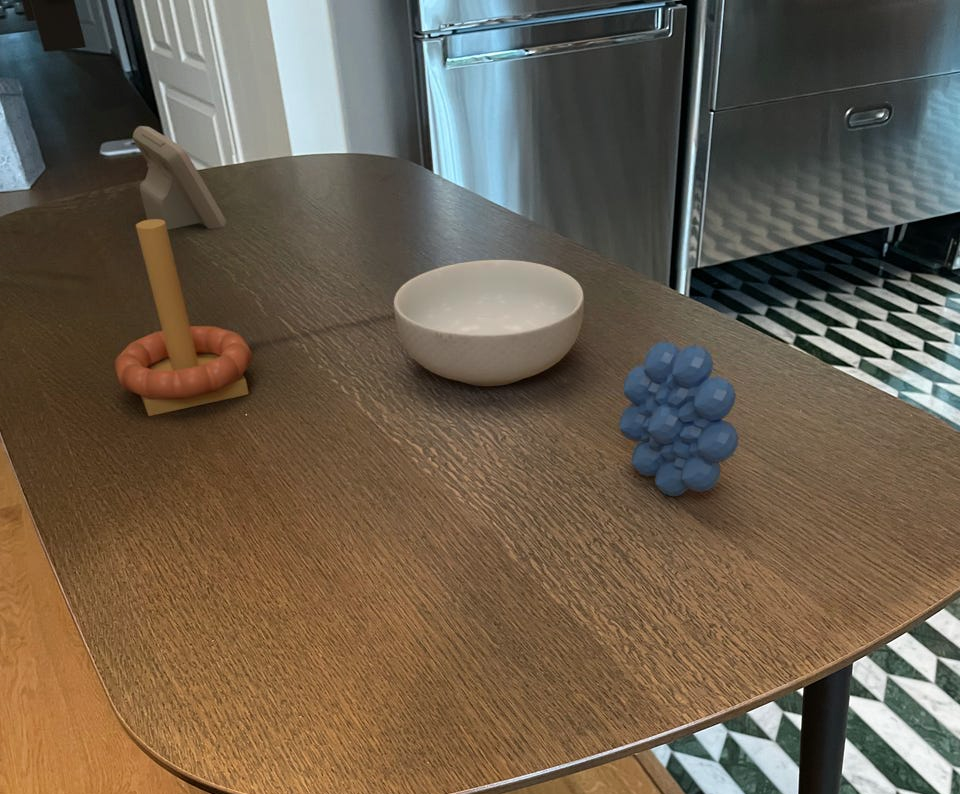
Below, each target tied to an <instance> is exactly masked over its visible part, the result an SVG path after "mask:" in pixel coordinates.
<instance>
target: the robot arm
mask: <svg viewBox="0 0 960 794" xmlns="http://www.w3.org/2000/svg"><path fill="white" fill-rule="evenodd" d="M20 2H21V5H22V8H23V11H24V16H25V18H26V21H27V22H34V21H35V24H36V28H37V31H38V34H39V35H38V36H39V39H40V42H41V46H42V49H43V52H44V53H46V52H47V53H49V52H55V51H56V52H57V51H66V50H75V49H84V48H87V45H86V42H85V41H86V40H85V38H84V33H83V29H82V26H81V21H80V18H79V14H78V10H77V6H76V1H75V0H20Z"/></svg>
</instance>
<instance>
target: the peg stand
mask: <svg viewBox="0 0 960 794" xmlns="http://www.w3.org/2000/svg"><path fill="white" fill-rule="evenodd" d="M135 228H136V229H135V230H136V233H137V237H138V240H139V244H140V249H141V253H142V256H143V261H144V265H145V269H146V272H147V276H148V280H149V285H150V288H151V291H152V296H153V300H154V304H155V307H156V311H157V316H158V319H159V323H160V327H161V331H163V335H164V339H165V343H166V347H167V351H168V355H169V357H167V358H164V359H162V360H160V361H158V362H156V363H154V364H152V365H149V366H148V367H147V368H148V369H151V370H181V369H186V368H191V367H195V366H200V365H204V364H206V363H208V362H210V361H212V360H214V359H216V358H218V357H220V355H217V354H214V353H196V351H195V346H194V342H193V338H192V334H191V329H190V326H191V325H190V321H189V318H188V312H187V309H186V304H185V300H184V297H183V291H182V287H181V283H180V279H179V275H178V270H177V265H176V262H175V257H174V254H173V250H172V246H171V245H172V244H171V241H170V236H169V232H168V230H167V228H166V224H165V221H164V220H160V219H150V220H147V219H145V220H142V221H139V222H138V223H136V224H135ZM247 395H250V393H249V388H248V383H247V379H246V377H245V376H244V373H243V374H242V376H241V377H240V378H239V379H238V380H236V381H234V382H232V383H230V384H229V385H227V386H225V387H223V388H221V389H219V390H217V391H215V392H212V393H207V394H203V395H198V396H194V397H189V398H184V399H151V398H147V397H144V396H141V395H140V398H141V400H142V402H143V403H142V404H143V405H144V408H145V412H146V413H147V415H148V417H152V416H157V415H160V414H161V415H162V414H165V413H170V412H174V411H180V410H184V409H189V408H193V407H198V406H203V405H206V404H212V403H215V402H216V403H217V402H220V401H221V402H222V401H224V400H229V399H235V398H238V397H239V398H240V397H243V396H247Z"/></svg>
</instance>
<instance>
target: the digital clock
mask: <svg viewBox="0 0 960 794" xmlns="http://www.w3.org/2000/svg"><path fill="white" fill-rule="evenodd" d="M132 140H133V141H134V144H135V145H136V146H137V148H138V150H139V151H140V153H141V155H142V156H143V158H144V160H145V161H146V167H147V168H148V169H147V173H146V177H145V179H144V180H143V181H142V182H141V183H140V185H139V192H140V197H141V201H142V205H143V207H144V208H143V209H144V213H145V216H146V217H145V218H146V220H150V219H160V220H164V221H165V224H166V228H167V231H169V230H174V229H177V228H183V227H188V226H191V225H197V224H201V225H203V226H204V227H206V228H207V229H208V230H209V229H210V230H211V229H221V228H224V227H225V226H226V225H227V224H228V223H227V220H226V218H225V216H224V215H223V212H222V211H221V209H220V208H219V206H218V204H217V202H216V201H215V199H214V197H213V196H212V195H213V194H212V193H211V192H210V190H209V189H208V187H207V185H206V183H205V182H204V179H202V177H201V175H200V173H199V171H198V170H197V168H196V166H195V165H194V163H193V161H192V159H191V157H190V156H189V154H188V153H187V151H186V150H185V149H184V148H183V146H181V145H180V144H177V143H176V142H174V141H173V140H172V139H170V138H168V137H167V136H165V135H163V134H162V133H160V132H158V131H157V130H156V129H153V128H152V127H150V126H146V125H139V126H137V127H136V128H135V129H134V130H133V133H132Z"/></svg>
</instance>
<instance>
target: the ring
mask: <svg viewBox="0 0 960 794" xmlns="http://www.w3.org/2000/svg"><path fill="white" fill-rule="evenodd" d="M190 329H191V334H192V338H193V342H194V346H195V351H196V353H214V354H217V355H220V357H218V358H216V359H214V360H212V361H210V362H208V363H206V364H204V365H200V366H195V367H191V368H186V369H181V370H151V369H148V368H147V367H148V366H149V365H152V364H154V363H156V362H158V361H160V360H162V359H164V358H167V357H169V355H168V351H167V347H166V343H165V339H164V335H163V331H162V330H159V331H155V332H153V333H150V334H148V335H145V336H143V337H141V338H139V339H137V340H135V341H132V342H131V343H129V344H128V345H126V347H125V348H124V349H123V351H122V352H120V354H119V355H118V356H117V357H116V358H115V361H114V366H113V367H114V371H115V374H116V376H117V379H118V382H119V384H120V386H121V388H123V389H124V390H126V391H128V392H131V393H134V394H136V395H139V396H140V397H141V396H144V397H147V398H151V399H184V398H189V397H194V396H198V395H203V394H207V393H212V392H215V391H217V390H219V389H221V388H223V387H225V386H227V385H229V384H230V383H232V382H234V381H236V380H238V379H239V378H240V377H241V376H242V374H243V375H244V373H245V371H246V370H247V368H249V366H250V365H251V362H252V359H253V355H252V351H251V349H250V347H249V346H248V344H247V343H246V341H245V339H244V338H243V337H242V336H241V335H240V334H239V333H238V332H235V331H232V330H228V329H224V328H222V327H218V326H213V325H190Z"/></svg>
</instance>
